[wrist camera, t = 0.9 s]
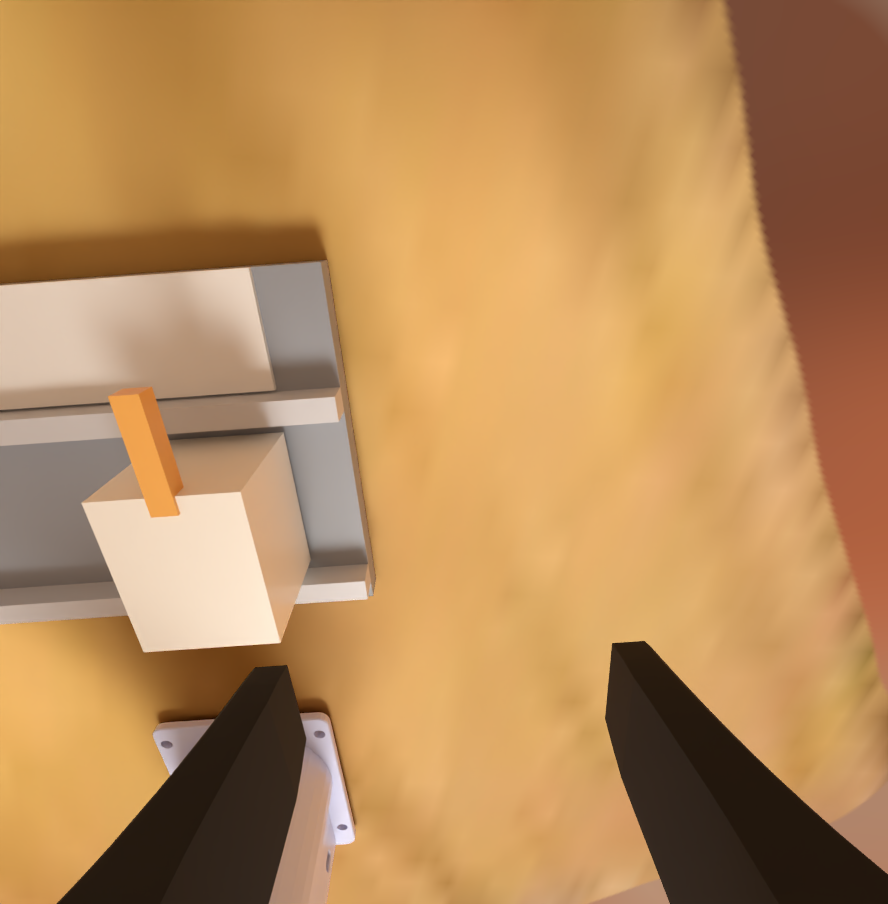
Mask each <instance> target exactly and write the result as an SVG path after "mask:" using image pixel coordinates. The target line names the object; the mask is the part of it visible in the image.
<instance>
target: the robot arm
mask: <svg viewBox="0 0 888 904" xmlns="http://www.w3.org/2000/svg"><path fill="white" fill-rule="evenodd" d="M605 720H606V723H607V727H608V731H609V735H610V738H611V742H612V746H613V750H614V753H615V757H616V760H617V764H618V767H619V771H620V774H621V778H622V780H623V783H624V786H625V788H626V791H627V794H628V796H629V799H630V801H631V804H632V807H633V809H634V812H635V814H636V817H637V820H638V822H639V825H640V827H641V830H642V833H643V835H644V838H645V840H646V843H647V845H648V848H649V851H650V853H651V856H652V858H653V861H654V864H655V866H656V869H657V871H658V874H659V876H660V879H661V882H662V884H663V887H664V889H665V892H666V894H667V897H668V900H669V902H670V904H888V874H887V873H885V872H884V871H883V870H882V869H881V868H879V867H878V866H877V865H876V864H875V863H874V862H872V861H871V860H870V859H868V857H866V856H865V855H864V854H863V853H862V852H860V851H859V850H858V849H857V848H856V847H854V846H853V845H852V844H851V843H850V842H849V841H847V840H846V839H845V838H844V837H843V836H841V835H840V834H839V833H838V832H837V831H836V830H835V829H833V828H832V827H831V826H830V825H829V824H828V823H827V822H826V821H825V820H823V819H822V818H821V817H820V816H819V815H818V814H817V813H816V812H814V811H813V810H812V809H811V808H810V807H809V806H808V805H807V804H806V803H804V802H803V801H802V800H801V799H800V798H799V797H798V796H797V795H796V794H795V793H794V792H793V791H792V790H790V789H789V788H788V787H787V786H786V785H785V784H784V783H783V782H782V781H781V780H780V779H779V778H777V777H776V776H775V775H774V774H773V773H772V772H771V771H770V770H769V769H768V768H767V767H766V766H765V765H764V764H763V763H762V762H761V761H760V760H759V759H758V758H757V757H756V756H754V755H753V754H752V753H751V752H750V751H749V750H748V749H747V748H746V747H745V746H744V745H743V744H742V743H741V742H740V741H739V740H738V739H737V738H736V737H735V736H734V735H733V734H732V733H731V732H730V731H729V730H728V729H727V728H726V727H725V726H724V725H723V724H722V723H721V722H720V721H719V720H718V718H717V717H716V716H715V715H714V714H713V713H712V712H711V711H710V710H709V709H708V708H707V707H706V706H705V705H704V704H703V703H702V702H701V701H700V700H699V699H698V698H697V697H696V695H695V694H694V693H693V692H692V691H691V690H690V689H689V688H688V687H687V686H686V685H685V684H684V683H683V682H682V681H681V679H680V678H679V677H678V676H677V675H676V674H675V673H674V672H673V671H672V670H671V669H670V667H669V666H668V665H667V664H666V663H665V662H664V661H663V660H662V659H661V658H660V656H659V655H658V654H657V653H656V652H655V651H654V650H653V649H652V648H651V647H650V645H648V644H647V643H646V642H645V641H639V642H624V643H612V651H611V662H610V673H609V683H608V694H607V705H606V716H605ZM153 738H154V740H155V742H156V745H157V747H158V749H159V751H160V753H161V756H162V758H163V760H164V762H165V765H166V767H167V769H168V771H169V774H170V777H169V778H168V779H167V780H166V782H165V783H164V784H163V785H162V786H161V788H160V789H159V790H158V791H157V793H156V794H155V795H154V796H153V797H152V798H151V800H150V801H149V802H148V803H147V804H146V805H145V806H144V808H143V809H142V810H141V811H140V812H139V813H138V815H137V816H136V817H135V818H134V819H133V820H132V822H131V823H130V824H129V825H128V826H127V827H126V829H125V830H124V831H123V832H122V833H121V834H120V835H119V837H118V838H117V839H116V840H115V841H114V842H113V844H112V845H111V846H110V847H109V848H108V849H107V850H106V851H105V852H104V854H103V855H102V856H101V857H100V858H99V859H98V860H97V861H96V862H95V863H94V865H93V866H92V867H91V868H90V869H89V870H88V871H87V872H86V873H85V874H84V875H83V876H82V878H81V879H80V880H79V881H78V882H77V883H76V884H75V885H74V886H73V887H72V888H71V889H70V890H69V891H68V892H67V893H66V894H65V896H64V897H63V898H62V899H61V900H60V901H59V902H58V903H57V904H326V903H327V897H328V890H329V884H330V877H331V871H332V865H333V858H334V852H335V845H339V844H349V843H351V842H353V841H354V840H355V834H356V830H355V825H354V821H353V817H352V812H351V808H350V804H349V799H348V795H347V791H346V786H345V782H344V778H343V773H342V769H341V765H340V760H339V756H338V752H337V747H336V743H335V739H334V734H333V730H332V726H331V721H330V718H329V716H327V715H326V714H324V713H322V712H313V713H300V712H299V708H298V705H297V701H296V697H295V693H294V689H293V686H292V682H291V678H290V674H289V671H288V667H287V665H284V666H270V667H255V668H254V669H253V671H252V672H251V673H250V674H249V675H248V677H247V678H246V679H245V681H244V682H243V683H242V684H241V686H240V687H239V688H238V690H237V691H236V692H235V694H234V695H233V696H232V698H231V699H230V700H229V702H228V703H227V704H226V706H225V707H224V708H223V710H222V711H221V712H220V713H219V715H218V716H217V717H216V719H208V720H193V721H178V722H164V723H160V724H159V725H157V727H156V729H155V730H154V732H153Z"/></svg>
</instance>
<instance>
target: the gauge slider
mask: <svg viewBox="0 0 888 904" xmlns="http://www.w3.org/2000/svg"><path fill="white" fill-rule="evenodd" d="M108 399H109V402H110V404H111V407H112V410H113V413H114V416H115V418H116V421H117V424H118V427H119V430H120V432H121V435H122V438H123V441H124V444H125V446H126V449H127V452H128V455H129V458H130V460H131V463H132V464H130V465H129V466H128V467H126V468H125V469H124V470H123V471H121V472H120V473H119V474H118V475H116V476H115V477H114V478H112V479H111V480H110V481H109V482H107V483H106V484H105V485H104V486H102V487H101V488H100V489H98V490H97V491H96V492H95V493H93V494H92V495H91V496H90V497H88V498H87V499H86V500H85V501H83V502H82V506H83V508H84V511H85V513H86V515H87V518H88V520H89V523H90V525H91V527H92V530H93V532H94V535H95V537H96V539H97V542H98V544H99V547H100V549H101V551H102V554H103V556H104V559H105V561H106V563H107V566H108V568H109V570H110V573H111V575H112V578H113V580H114V582H115V585H116V587H117V590H118V592H119V594H120V597H121V599H122V602H123V604H124V606H125V609H126V611H127V614H128V616H129V618H130V621H131V623H132V626H133V628H134V630H135V633H136V635H137V638H138V640H139V642H140V645H141V647H142V650H143V652H155V651H170V650H185V649H200V648H214V647H229V646H244V645H259V644H273V643H281V640H282V638H283V635H284V632H285V629H286V627H287V624H288V621H289V618H290V616H291V613H292V610H293V607H294V605H295V602H296V599H297V596H298V594H299V591H300V588H301V585H302V583H303V580H304V577H305V574H306V572H307V569H308V566H309V563H310V561H311V558H310V554H309V549H308V544H307V540H306V535H305V530H304V526H303V521H302V516H301V512H300V507H299V502H298V497H297V493H296V488H295V483H294V479H293V474H292V469H291V465H290V460H289V455H288V451H287V446H286V441H285V437H284V432H279V433H264V434H250V435H236V436H222V437H208V438H194V439H180V440H169V439H168V436H167V433H166V429H165V426H164V423H163V420H162V417H161V414H160V410H159V407H158V404H157V401H156V398H155V395H154V392H153V388H152V387H139V388H125V389H121V390H119V391H117V392H115V393H113V394H111V395H109V396H108Z"/></svg>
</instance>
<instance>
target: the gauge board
mask: <svg viewBox="0 0 888 904" xmlns="http://www.w3.org/2000/svg"><path fill="white" fill-rule="evenodd" d="M139 387H152V388H153V392H154V395H155V398H156V401H157V404H158V407H159V410H160V414H161V417H162V420H163V423H164V426H165V429H166V433H167V436H168V439H169V440H180V439H194V438H208V437H222V436H236V435H250V434H264V433H279V432H284V437H285V441H286V446H287V451H288V455H289V460H290V465H291V469H292V474H293V479H294V483H295V488H296V493H297V497H298V502H299V507H300V512H301V516H302V521H303V526H304V530H305V535H306V540H307V544H308V549H309V554H310V558H311V561H310V563H309V566H308V569H307V572H306V574H305V577H304V580H303V583H302V585H301V588H300V591H299V594H298V596H297V599H296V602H295V604H304V603H319V602H334V601H348V600H363V599H368V596H373V594H374V587H375V581H376V577H375V571H374V564H373V557H372V551H371V544H370V538H369V531H368V525H367V518H366V511H365V505H364V498H363V492H362V485H361V478H360V472H359V465H358V459H357V452H356V446H355V439H354V432H353V426H352V419H351V413H350V406H349V399H348V393H347V386H346V380H345V373H344V367H343V360H342V353H341V347H340V340H339V334H338V327H337V320H336V314H335V307H334V301H333V294H332V288H331V281H330V274H329V268H328V261H327V260H319V261H306V262H292V263H278V264H265V265H251V266H237V267H224V268H210V269H196V270H183V271H169V272H155V273H141V274H128V275H114V276H100V277H87V278H73V279H59V280H46V281H32V282H18V283H5V284H0V624H12V623H27V622H41V621H56V620H70V619H85V618H100V617H114V616H128V614H127V611H126V609H125V606H124V604H123V602H122V599H121V597H120V594H119V592H118V590H117V587H116V585H115V582H114V580H113V578H112V575H111V573H110V570H109V568H108V566H107V563H106V561H105V559H104V556H103V554H102V551H101V549H100V547H99V544H98V542H97V539H96V537H95V535H94V532H93V530H92V527H91V525H90V523H89V520H88V518H87V515H86V513H85V511H84V508H83V506H82V502H83V501H85V500H86V499H87V498H88V497H90V496H91V495H92V494H93V493H95V492H96V491H97V490H98V489H100V488H101V487H102V486H104V485H105V484H106V483H107V482H109V481H110V480H111V479H112V478H114V477H115V476H116V475H118V474H119V473H120V472H121V471H123V470H124V469H125V468H126V467H128V466H129V465H130V464H132V463H131V460H130V458H129V455H128V452H127V449H126V446H125V444H124V441H123V438H122V435H121V432H120V430H119V427H118V424H117V421H116V418H115V416H114V413H113V410H112V407H111V404H110V402H109V399H108V396H109V395H111V394H113V393H115V392H117V391H119V390H121V389H125V388H139Z"/></svg>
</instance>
